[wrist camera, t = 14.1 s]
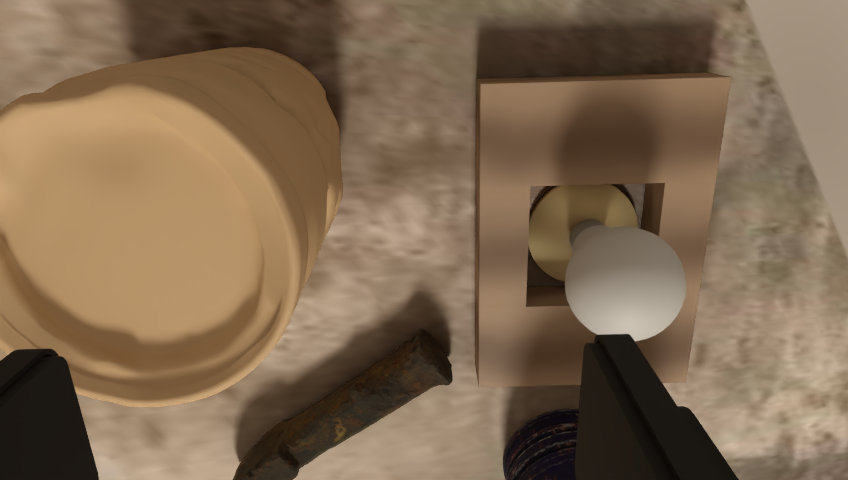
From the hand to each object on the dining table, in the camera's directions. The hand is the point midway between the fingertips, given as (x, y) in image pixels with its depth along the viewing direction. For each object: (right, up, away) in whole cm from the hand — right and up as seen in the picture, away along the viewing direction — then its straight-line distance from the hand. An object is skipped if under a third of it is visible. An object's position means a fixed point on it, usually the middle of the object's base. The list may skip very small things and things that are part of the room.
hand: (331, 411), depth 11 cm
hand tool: (-5, -9, +34) cm, 36 cm away
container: (-9, +9, +27) cm, 30 cm away
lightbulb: (+12, +4, +29) cm, 31 cm away
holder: (+12, +4, +29) cm, 32 cm away
